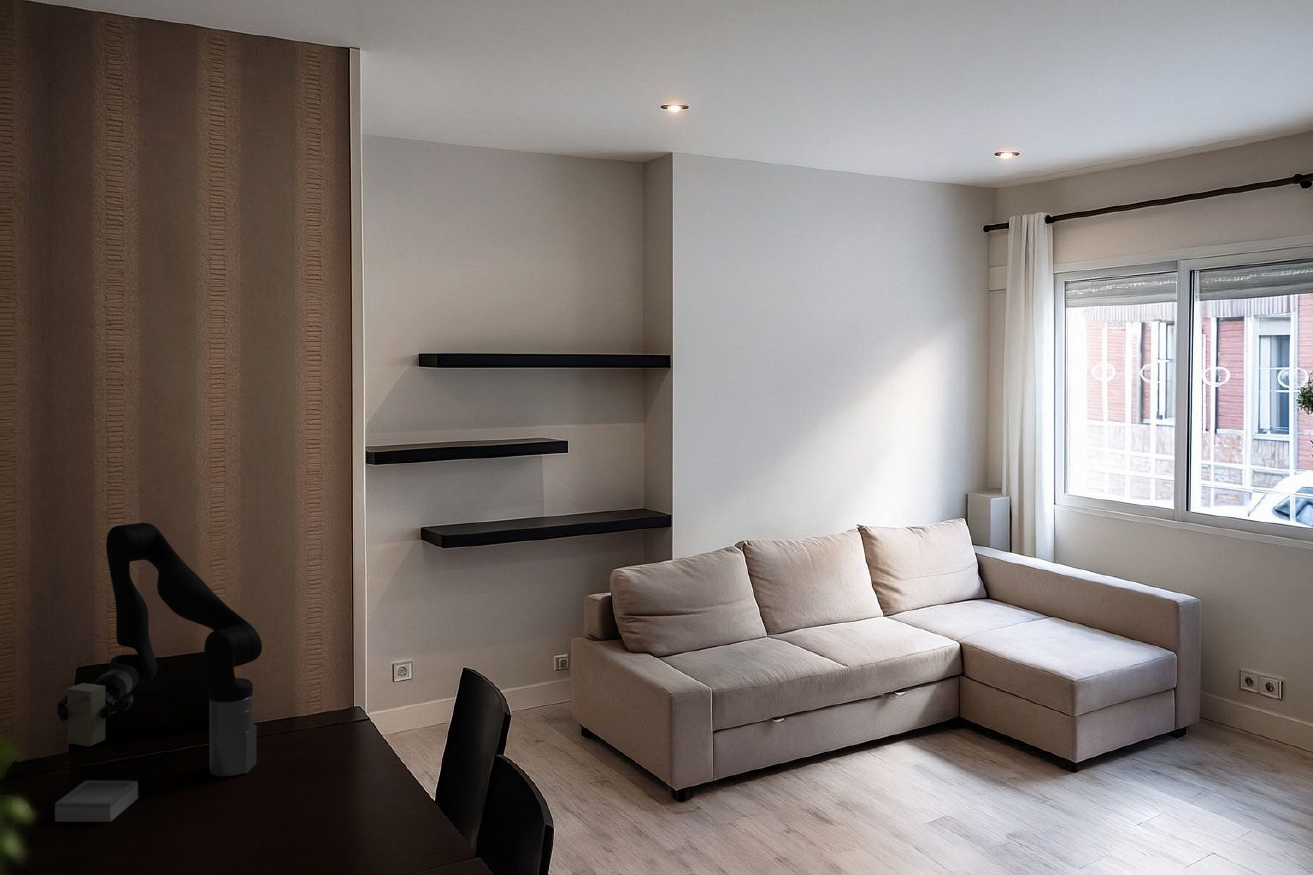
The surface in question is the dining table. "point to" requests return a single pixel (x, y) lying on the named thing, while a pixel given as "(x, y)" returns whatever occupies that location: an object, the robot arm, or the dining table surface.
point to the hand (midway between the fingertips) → (83, 715)
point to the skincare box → (86, 714)
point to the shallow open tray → (96, 801)
